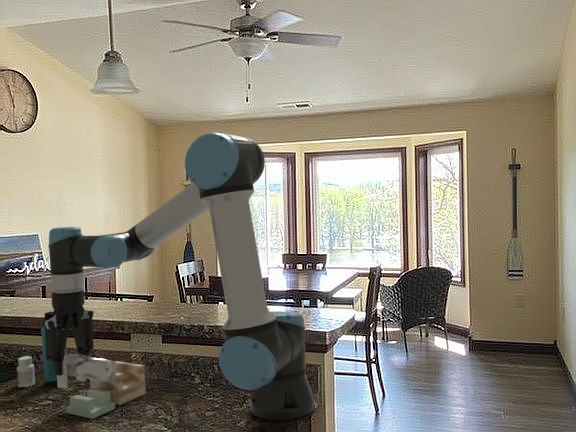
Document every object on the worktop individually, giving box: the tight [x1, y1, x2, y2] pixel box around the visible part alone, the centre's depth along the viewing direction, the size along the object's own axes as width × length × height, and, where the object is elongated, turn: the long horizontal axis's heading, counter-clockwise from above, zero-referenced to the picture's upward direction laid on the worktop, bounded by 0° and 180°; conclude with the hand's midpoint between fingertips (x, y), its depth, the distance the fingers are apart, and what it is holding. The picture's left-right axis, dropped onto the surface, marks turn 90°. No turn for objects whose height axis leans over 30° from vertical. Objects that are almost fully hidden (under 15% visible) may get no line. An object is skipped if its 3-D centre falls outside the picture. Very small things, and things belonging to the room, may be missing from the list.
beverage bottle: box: [40, 310, 67, 382], centre depth 163 cm, size 6×7×20 cm
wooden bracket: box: [89, 360, 147, 406], centre depth 150 cm, size 10×9×8 cm
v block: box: [65, 388, 116, 420], centre depth 141 cm, size 9×7×4 cm
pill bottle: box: [16, 355, 36, 388], centre depth 162 cm, size 4×4×8 cm
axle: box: [63, 353, 117, 382], centre depth 141 cm, size 14×5×5 cm, turn 61°
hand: (72, 383), depth 144 cm, fingers closed on axle, 5 cm apart
